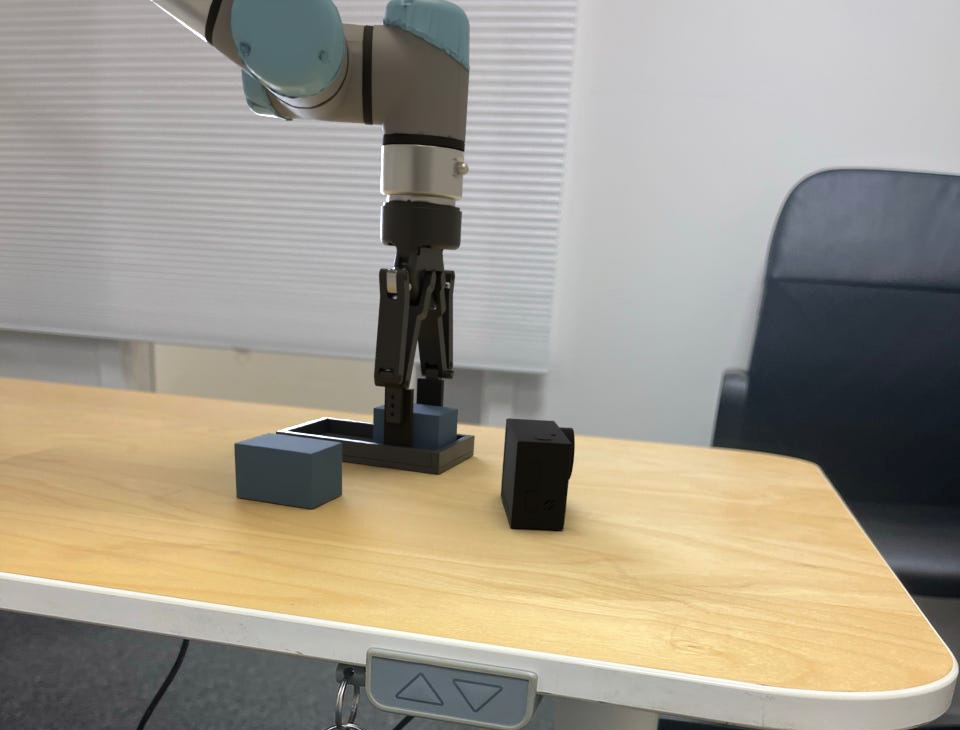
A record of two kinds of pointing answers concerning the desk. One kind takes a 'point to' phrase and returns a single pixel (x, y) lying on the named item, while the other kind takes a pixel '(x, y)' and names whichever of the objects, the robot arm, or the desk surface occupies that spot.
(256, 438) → the blue-grey rectangular block
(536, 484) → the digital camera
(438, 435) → the blue block
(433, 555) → the desk surface
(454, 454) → the tray
